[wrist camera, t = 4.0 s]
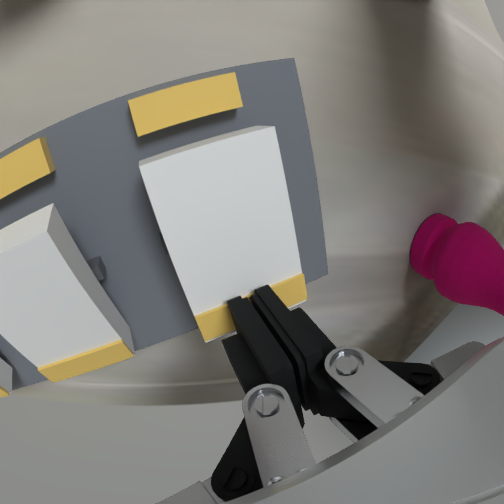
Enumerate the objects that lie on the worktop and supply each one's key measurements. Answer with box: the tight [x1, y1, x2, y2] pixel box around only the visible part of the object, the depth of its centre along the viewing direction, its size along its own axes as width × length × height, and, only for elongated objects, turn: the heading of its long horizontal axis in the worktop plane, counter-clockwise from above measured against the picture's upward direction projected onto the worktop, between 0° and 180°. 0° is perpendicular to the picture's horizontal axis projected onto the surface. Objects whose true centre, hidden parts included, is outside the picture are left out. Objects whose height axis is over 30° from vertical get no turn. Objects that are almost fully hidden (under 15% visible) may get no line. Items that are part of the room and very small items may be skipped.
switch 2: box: [139, 126, 308, 343], centre depth 11 cm, size 7×4×2 cm, turn 13°
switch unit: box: [0, 58, 328, 390], centre depth 13 cm, size 11×25×6 cm, turn 103°
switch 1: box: [0, 203, 136, 383], centre depth 10 cm, size 7×4×2 cm, turn 13°
